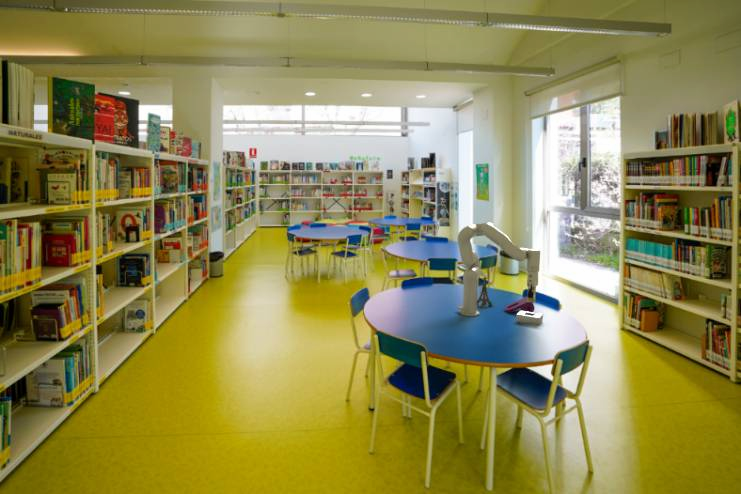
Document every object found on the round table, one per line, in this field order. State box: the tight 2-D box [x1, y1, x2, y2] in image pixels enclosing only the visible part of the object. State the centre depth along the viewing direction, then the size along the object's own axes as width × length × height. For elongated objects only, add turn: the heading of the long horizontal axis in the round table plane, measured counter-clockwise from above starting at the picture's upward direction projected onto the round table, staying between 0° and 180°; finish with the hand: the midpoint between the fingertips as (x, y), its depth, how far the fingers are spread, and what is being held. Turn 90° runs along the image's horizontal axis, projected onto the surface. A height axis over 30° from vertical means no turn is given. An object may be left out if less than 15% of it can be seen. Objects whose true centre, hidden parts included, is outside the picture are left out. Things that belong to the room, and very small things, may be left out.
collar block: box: [515, 310, 544, 326], centre depth 286 cm, size 14×10×5 cm
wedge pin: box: [526, 286, 537, 304], centre depth 284 cm, size 4×4×10 cm
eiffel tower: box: [477, 276, 495, 309], centre depth 321 cm, size 11×11×25 cm
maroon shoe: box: [504, 296, 535, 313], centre depth 309 cm, size 9×8×18 cm
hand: (531, 296), depth 284 cm, fingers closed on wedge pin, 4 cm apart
